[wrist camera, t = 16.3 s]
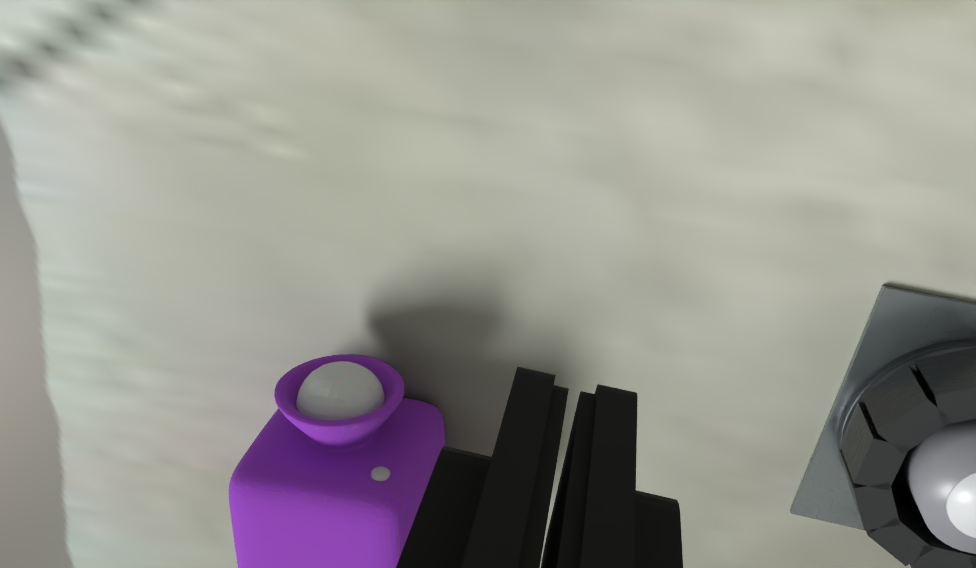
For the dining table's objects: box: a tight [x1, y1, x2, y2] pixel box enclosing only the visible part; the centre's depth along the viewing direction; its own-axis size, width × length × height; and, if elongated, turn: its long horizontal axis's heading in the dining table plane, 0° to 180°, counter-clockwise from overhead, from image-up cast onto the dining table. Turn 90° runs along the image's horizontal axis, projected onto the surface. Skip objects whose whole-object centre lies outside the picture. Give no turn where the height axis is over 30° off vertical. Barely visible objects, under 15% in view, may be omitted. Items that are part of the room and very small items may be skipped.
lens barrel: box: [790, 285, 976, 568], centre depth 37 cm, size 14×12×4 cm
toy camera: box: [229, 355, 445, 568], centre depth 42 cm, size 11×14×10 cm
